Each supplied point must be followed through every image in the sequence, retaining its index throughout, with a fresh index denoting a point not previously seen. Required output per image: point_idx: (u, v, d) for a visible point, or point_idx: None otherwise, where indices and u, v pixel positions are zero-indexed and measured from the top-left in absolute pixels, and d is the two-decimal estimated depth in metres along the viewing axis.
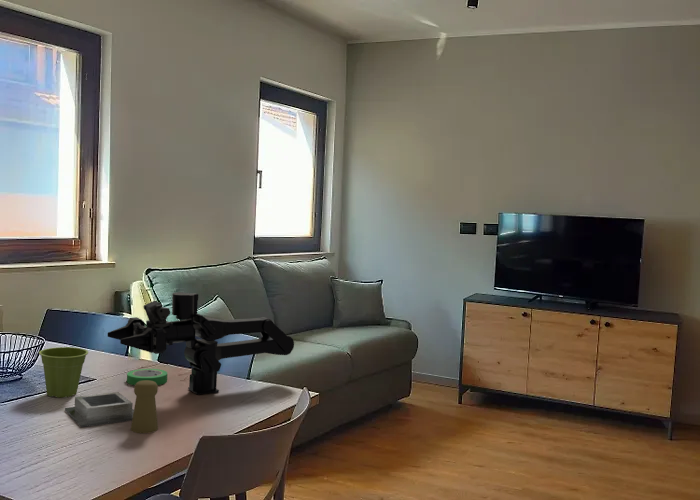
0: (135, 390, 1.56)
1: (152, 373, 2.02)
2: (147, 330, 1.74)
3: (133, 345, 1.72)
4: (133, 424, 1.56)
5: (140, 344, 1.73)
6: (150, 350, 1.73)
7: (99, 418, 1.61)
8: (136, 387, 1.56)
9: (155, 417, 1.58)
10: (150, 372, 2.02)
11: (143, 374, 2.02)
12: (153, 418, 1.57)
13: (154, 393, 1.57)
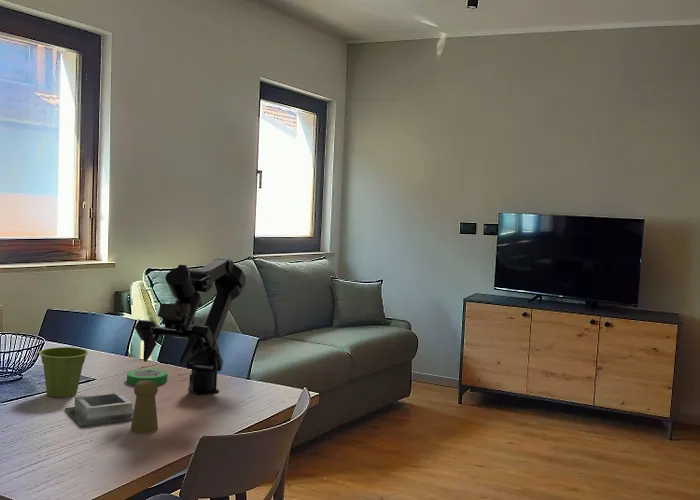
0: (135, 390, 1.56)
1: (152, 373, 2.02)
2: (192, 337, 1.66)
3: (189, 357, 1.67)
4: (133, 424, 1.56)
5: (193, 351, 1.68)
6: (203, 348, 1.70)
7: (99, 418, 1.61)
8: (136, 387, 1.56)
9: (155, 417, 1.58)
10: (150, 372, 2.02)
11: (143, 374, 2.02)
12: (153, 418, 1.57)
13: (154, 393, 1.57)
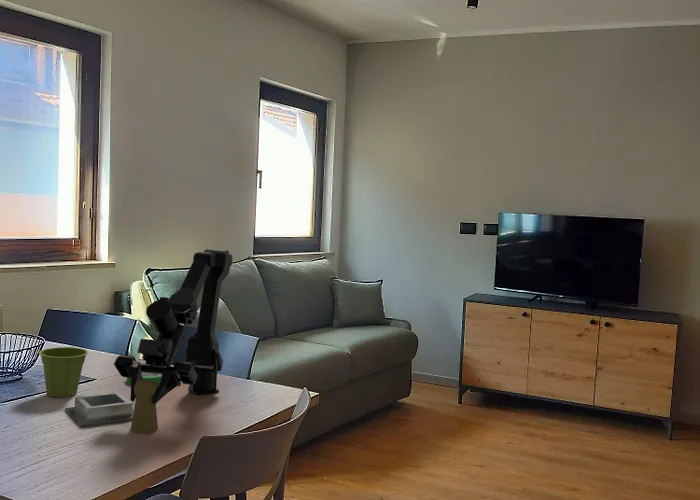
0: (135, 390, 1.56)
1: (152, 373, 2.02)
2: (166, 374, 1.58)
3: (163, 395, 1.58)
4: (133, 424, 1.56)
5: (167, 388, 1.59)
6: (178, 385, 1.61)
7: (99, 418, 1.61)
8: (136, 387, 1.56)
9: (155, 417, 1.58)
10: None
11: (143, 374, 2.02)
12: (153, 418, 1.57)
13: (154, 393, 1.57)
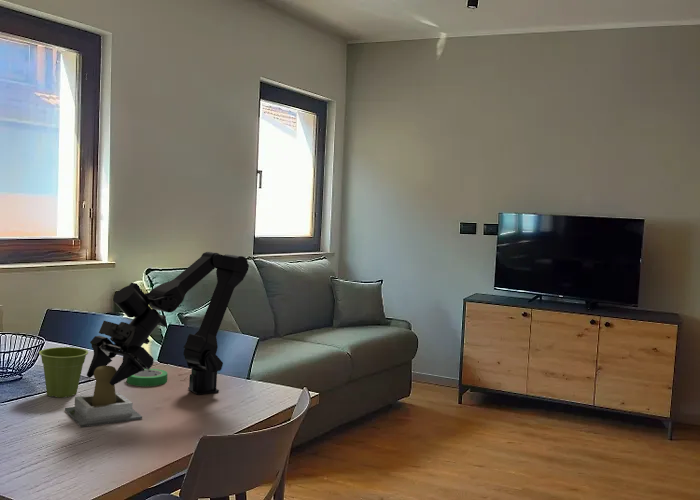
0: (94, 373, 1.65)
1: (152, 373, 2.02)
2: (125, 357, 1.63)
3: (123, 377, 1.64)
4: None
5: (128, 372, 1.64)
6: (141, 370, 1.65)
7: (99, 418, 1.61)
8: (94, 371, 1.65)
9: (110, 401, 1.65)
10: (150, 372, 2.02)
11: (143, 374, 2.02)
12: (108, 403, 1.64)
13: (109, 378, 1.64)
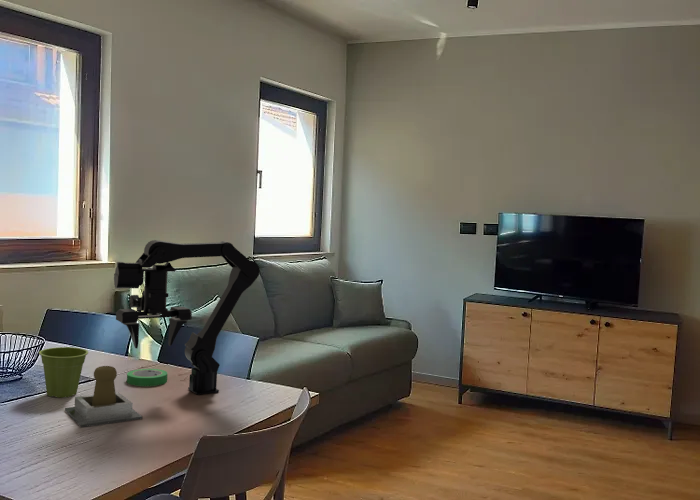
0: (94, 374, 1.65)
1: (152, 373, 2.02)
2: None
3: (134, 338, 1.80)
4: None
5: None
6: None
7: (99, 418, 1.61)
8: (94, 371, 1.65)
9: (110, 402, 1.65)
10: (150, 372, 2.02)
11: (143, 374, 2.02)
12: (108, 403, 1.64)
13: (109, 378, 1.64)
